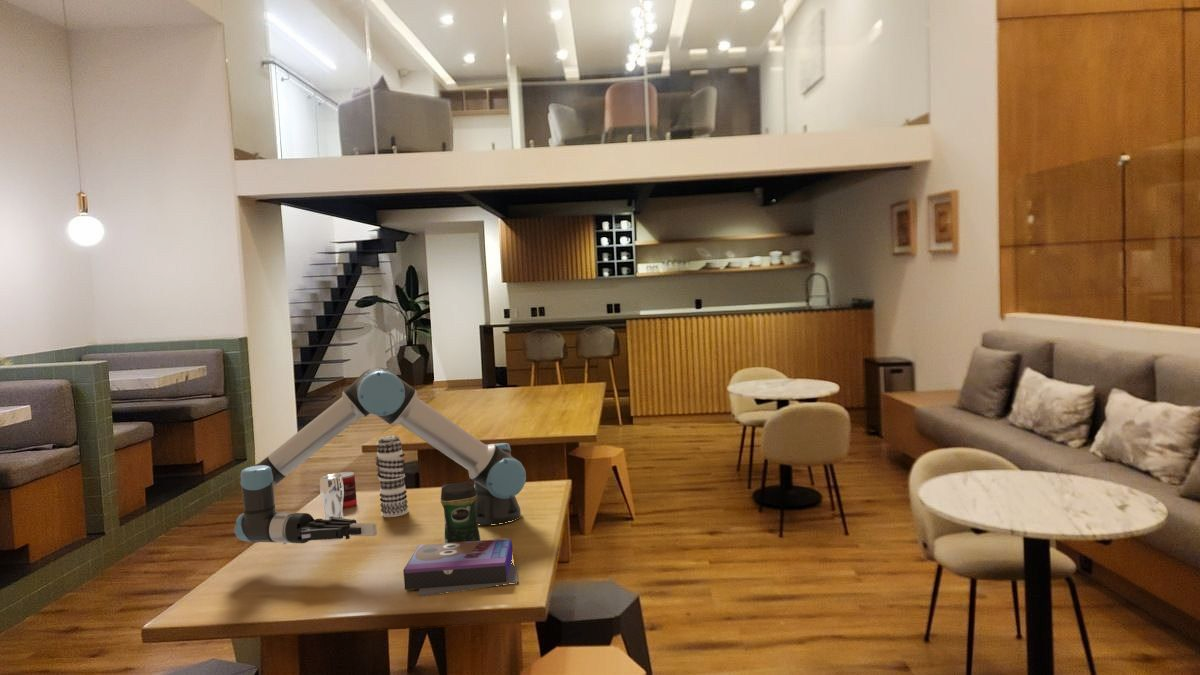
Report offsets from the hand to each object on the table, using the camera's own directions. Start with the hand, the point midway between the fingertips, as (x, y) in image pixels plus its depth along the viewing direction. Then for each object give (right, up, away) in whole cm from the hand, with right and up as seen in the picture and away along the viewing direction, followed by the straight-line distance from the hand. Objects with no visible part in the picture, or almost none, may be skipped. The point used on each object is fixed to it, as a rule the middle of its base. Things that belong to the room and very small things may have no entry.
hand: (374, 529), depth 186 cm
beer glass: (-28, -11, +50) cm, 59 cm away
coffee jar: (+19, -10, +17) cm, 27 cm away
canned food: (-31, -10, +70) cm, 77 cm away
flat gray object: (+23, -11, 0) cm, 26 cm away
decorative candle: (-11, -10, +57) cm, 59 cm away
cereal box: (+9, -9, -1) cm, 13 cm away
